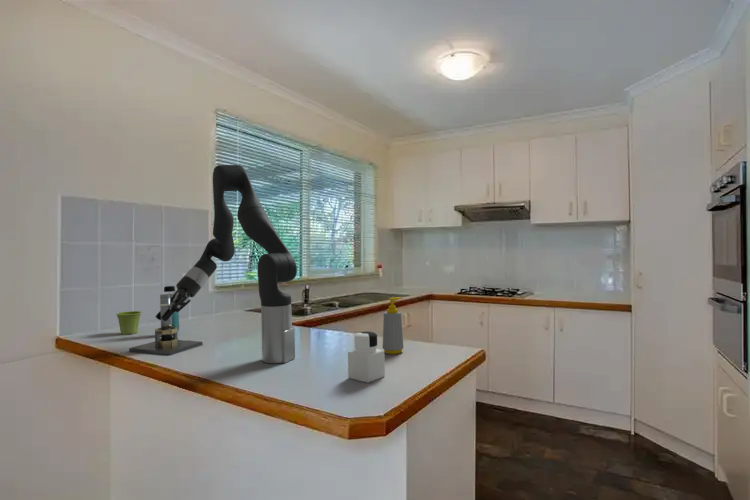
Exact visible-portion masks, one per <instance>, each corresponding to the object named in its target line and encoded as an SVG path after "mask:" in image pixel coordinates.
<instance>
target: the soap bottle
mask: <svg viewBox="0 0 750 500" xmlns="http://www.w3.org/2000/svg"><path fill="white" fill-rule="evenodd" d="M387 299H388V300H389V303H390V305H388V309H387V310H386V311H384V312H383V324H382V327H383V329H382V350H384V354H389V355H398V354H401V353H402V351H403V349H404V333H403V321H402V320H403V318H402V312H400V311H399V310H398V308H397V306H396V305H395V302H396V301H397V300H401V299H403V297H402V296H398V297H387Z"/></svg>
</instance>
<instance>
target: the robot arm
mask: <svg viewBox="0 0 750 500" xmlns="http://www.w3.org/2000/svg"><path fill="white" fill-rule="evenodd" d="M253 187H254V186H253V183H252V182H251V180H250V177H249V175H248V173H247V170H246V169H245V167H244V166H242V165H239V164H220V165H219V164H218V165H216V166H215V167H214V168H213V173H212V193H213V194H212V197H213V213H214V215H213V217H214V218H213V226H212V236H213V237H214V238H212V239H210V240H209V241H208V243H207V244H206V246H205V248H204V250H203V253H202V254H201V256H200V258H199V259H198V261H196V263H195V264H194V265H193V266H192V268H190V269H189V270H188V271H187V272H186V273H185V274H184V275H183V276H182V278H180V280H179V281H178V282H177V283H176V285H175V288H177V290H175V291H173V293H171V294H172V295H171V301H172V302H171V306H170V307H169V309H168V310H167V311H166V312H165V313H164V314H163V315H162V317H161V313H160V310H159V312H157V314H156V315H155V319H157V320H159V321H161V319H162V320H164V321H167V320H168V319H169V318H170V316H171V315H172V314H173V313H175V312H178V313H179V312H180V311H181V310H183V308H185V307H186V306H187V305H188V304H189V303H190V302H191V299H190V298H194V297H195V296H196V294H198V293H199V291H200V290H201V288H203V286H204V285H205V284H206V283H207V282H208V280H209V278H210V277H211V276H212V275H213V273H215V272H216V270H217V268H218V266H217V264H216V262H215V261H214V260H213V259H212V258H213V257H214V258H216V259H218V260H220V261H222V262H224V263H225V262H229V261H230V260H232V259H233V257H234V255H235V253H236V252H235V250H236V249H235V242H234V236H233V230H234V220H235V219H234V216H233V213H232V211H231V210H230V208H229V206H228V205H227V202H226V201H225V197H224V196H225V195H224V194H225V192H239V193H240V195H241V200H240V203H239V205H238V208H237V217H236V218H237V220H238V222H239V224H240V226H241V229H242V230H243V232H244V233H245V235H246V236H247V237H248V238H250V240H252V241H253V242H254V243H256V244H257V245H258V246H259V247H261V248H263V249H264V250H265V251H266V252H267V253H263V254H261V256H259V259H258V262H257V281H258V293H259V299H260V313H261V314H260V315H261V318H260V320H261V360H262V362H263V363H267V364H286V363H288V362H290V361H291V360H293V359H294V360H295V358H296V338H295V335H296V333H295V332H296V331H295V330H296V329H295V328H294V327H293V324H292V323H293V322H292V321H293V317H292V316H293V315H292V296H291V294H289V293H285V292H283V291H281V290H280V289H279V286H278V283H287V282H291V281H293V280H294V279H295V278H296V277H297V273H298V268H297V264H296V261H295V257H294V256H293V255H292V253H291V252H290V250H289V249H288V247H287V246H286V245H285V243H284V241H282V239H281V238H280V236H279V234H278V232H277V230H276V228H275V227H274V225H273V223H272V222H271V219H270V217H269V215H268V214H267V212H266V210H265V208H264V207H263V205H262V203H261V201H260V200H259V197H258V196H257V194H256V192H255V189H254V188H253Z"/></svg>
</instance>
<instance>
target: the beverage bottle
mask: <svg viewBox="0 0 750 500" xmlns="http://www.w3.org/2000/svg"><path fill="white" fill-rule="evenodd" d="M175 288H176V286H174V285H167V286H164V287H163V292H164V293H167V292H168V293H170V294H171V295H172V294H173V293H171V292H176V289H175ZM179 317H180V313H179V312H175V313H173V314H172V327H174V326H177V327H178V332H179V330H180V318H179Z"/></svg>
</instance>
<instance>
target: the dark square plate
mask: <svg viewBox="0 0 750 500" xmlns="http://www.w3.org/2000/svg"><path fill="white" fill-rule="evenodd" d="M178 332H179V331H178V327H177V326H174V327H172V329H170V330H161V327H158V328H155V329H154V338H155V339H154V341H151V342H147V343H143V344H140V345H136V346H133V347H128V352H129V353H141V354H142V353H143V354H149V355H150V354H152V355H164V356H173V355H176V354H178V353H182V352H185V351H188V350H192V349H194V348H197V347H201V346H203V341H197V340H182V339H181V340H180V339H179V338H178ZM165 334H172V340H168V341H162V340H161V335H165Z"/></svg>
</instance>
